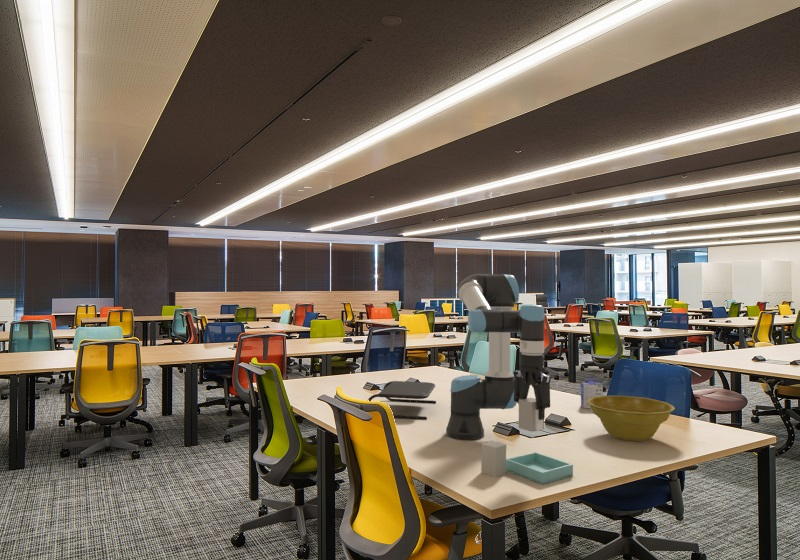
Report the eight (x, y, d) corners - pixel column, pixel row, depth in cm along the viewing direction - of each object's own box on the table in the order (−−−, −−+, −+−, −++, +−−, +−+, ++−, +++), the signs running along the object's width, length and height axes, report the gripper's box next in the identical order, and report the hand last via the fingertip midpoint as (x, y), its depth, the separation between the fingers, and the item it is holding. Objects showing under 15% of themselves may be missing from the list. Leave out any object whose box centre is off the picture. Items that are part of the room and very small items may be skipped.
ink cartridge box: (599, 406, 271) (599, 377, 272) (603, 408, 266) (603, 379, 266) (580, 406, 271) (580, 377, 272) (583, 408, 266) (583, 379, 266)
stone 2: (530, 425, 172) (530, 397, 172) (543, 429, 168) (544, 400, 168) (518, 427, 169) (518, 399, 169) (531, 431, 165) (532, 402, 165)
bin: (505, 470, 172) (505, 459, 172) (535, 462, 180) (535, 452, 180) (542, 484, 160) (542, 472, 160) (572, 475, 168) (572, 464, 168)
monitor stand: (426, 420, 238) (427, 396, 239) (365, 417, 243) (366, 393, 244) (436, 403, 275) (436, 382, 275) (383, 400, 280) (383, 380, 280)
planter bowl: (621, 451, 195) (622, 414, 195) (571, 428, 226) (571, 396, 226) (693, 445, 203) (694, 409, 204) (635, 424, 235) (635, 394, 235)
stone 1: (481, 472, 170) (481, 443, 170) (492, 468, 174) (492, 440, 174) (495, 476, 166) (495, 447, 166) (505, 473, 170) (506, 444, 170)
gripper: (502, 351, 174) (501, 422, 174) (547, 357, 159) (546, 435, 159) (518, 350, 179) (517, 420, 178) (563, 356, 163) (563, 432, 163)
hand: (531, 427), depth 168 cm, fingers closed on stone 2, 5 cm apart
